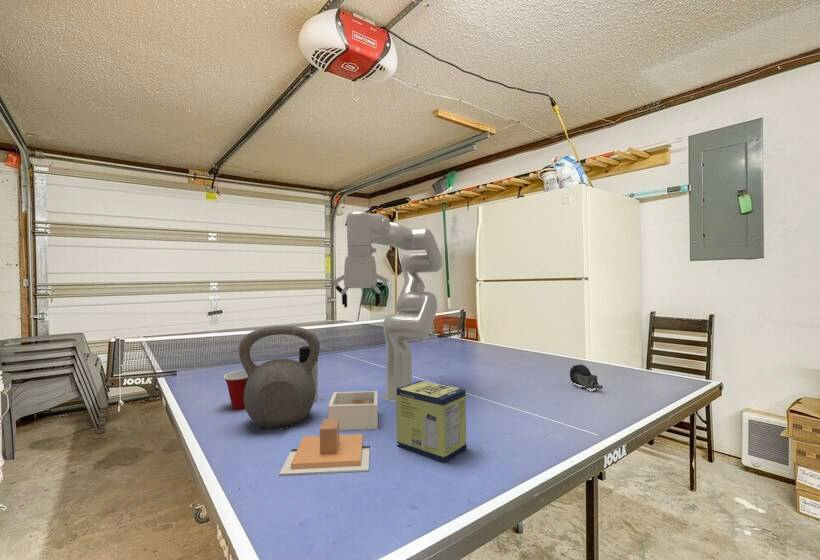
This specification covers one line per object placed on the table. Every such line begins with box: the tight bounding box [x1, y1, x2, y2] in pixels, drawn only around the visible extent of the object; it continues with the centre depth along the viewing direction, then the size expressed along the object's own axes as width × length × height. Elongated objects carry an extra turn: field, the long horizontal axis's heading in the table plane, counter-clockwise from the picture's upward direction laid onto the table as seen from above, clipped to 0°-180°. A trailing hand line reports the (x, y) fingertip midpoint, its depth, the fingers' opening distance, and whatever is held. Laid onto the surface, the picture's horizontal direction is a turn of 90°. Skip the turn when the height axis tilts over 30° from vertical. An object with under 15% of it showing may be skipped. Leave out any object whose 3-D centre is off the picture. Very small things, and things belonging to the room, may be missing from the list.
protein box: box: [396, 380, 468, 464], centre depth 101 cm, size 10×16×16 cm
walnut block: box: [350, 400, 370, 404], centre depth 120 cm, size 6×6×5 cm
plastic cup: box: [223, 369, 248, 410], centre depth 136 cm, size 11×11×12 cm
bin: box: [327, 390, 379, 431], centre depth 118 cm, size 14×14×8 cm
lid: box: [291, 418, 364, 469], centre depth 98 cm, size 16×16×7 cm
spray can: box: [298, 345, 319, 402], centre depth 141 cm, size 7×7×20 cm
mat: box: [278, 445, 371, 477], centre depth 98 cm, size 20×20×1 cm
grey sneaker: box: [569, 364, 603, 390], centre depth 154 cm, size 6×10×15 cm
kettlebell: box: [238, 325, 321, 430], centre depth 120 cm, size 24×17×30 cm
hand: (361, 306), depth 121 cm, fingers open, 9 cm apart
